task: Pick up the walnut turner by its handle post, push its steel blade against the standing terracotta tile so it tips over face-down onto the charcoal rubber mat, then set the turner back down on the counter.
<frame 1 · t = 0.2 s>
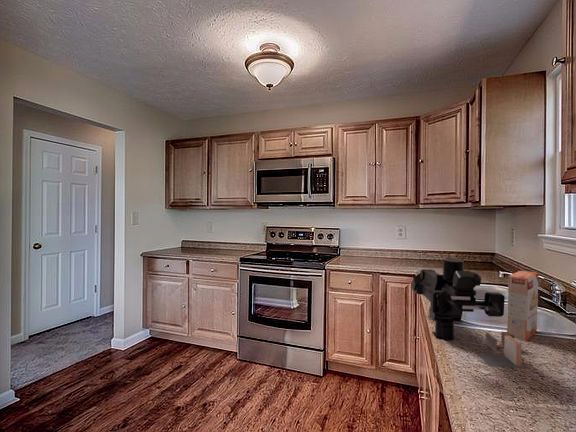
hand: (480, 313, 82), 16 cm above the worktop, tool horizontal, fingers open, 9 cm apart
walnut turner: (507, 349, 98), on the worktop
glazed tile: (512, 360, 90), point 1 cm above the worktop, touching slate mat
cracker box: (522, 335, 110), on the worktop
slate mat: (499, 362, 91), on the worktop
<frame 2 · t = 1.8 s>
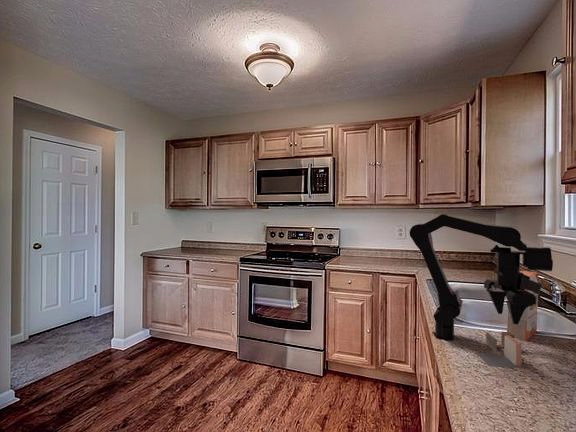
hand: (507, 318, 98), 9 cm above the worktop, tool pointing down, fingers open, 9 cm apart
nothing on the worktop moved.
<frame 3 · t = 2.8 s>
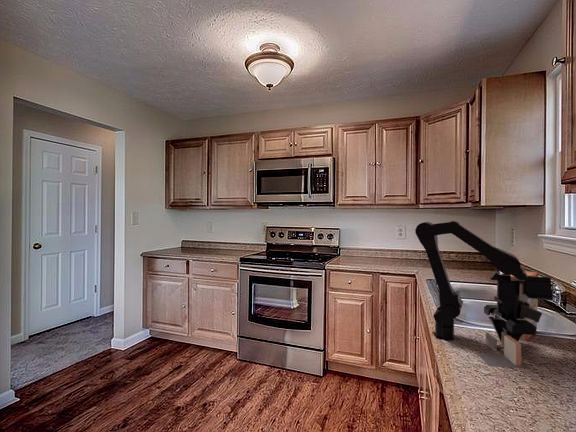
hand: (507, 346, 98), 1 cm above the worktop, tool pointing down, fingers open, 5 cm apart
nothing on the worktop moved.
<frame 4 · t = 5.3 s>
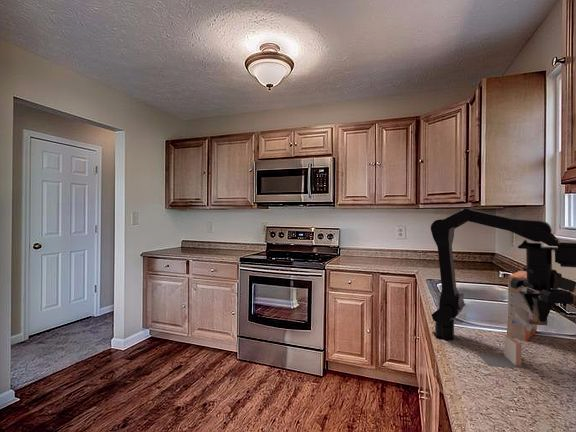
hand: (539, 320, 91), 12 cm above the worktop, tool pointing down, fingers closed on walnut turner, 2 cm apart
walnut turner: (539, 323, 91), point 11 cm above the worktop, touching gripper
everything else where it was.
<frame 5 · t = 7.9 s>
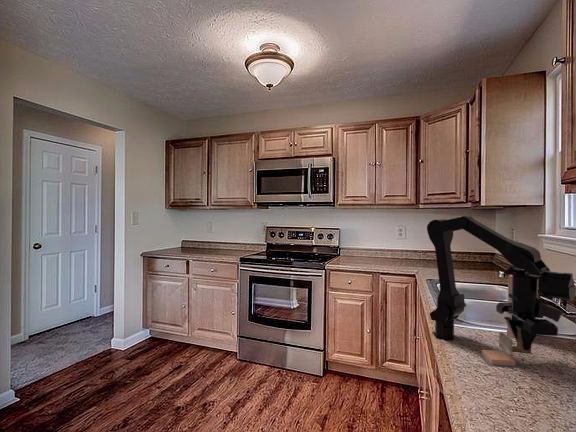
hand: (523, 347, 90), 4 cm above the worktop, tool pointing down, fingers closed on walnut turner, 2 cm apart
walnut turner: (523, 351, 90), point 3 cm above the worktop, touching gripper
glazed tile: (509, 357, 90), point 1 cm above the worktop, tilted 90°, touching slate mat
everything else where it was.
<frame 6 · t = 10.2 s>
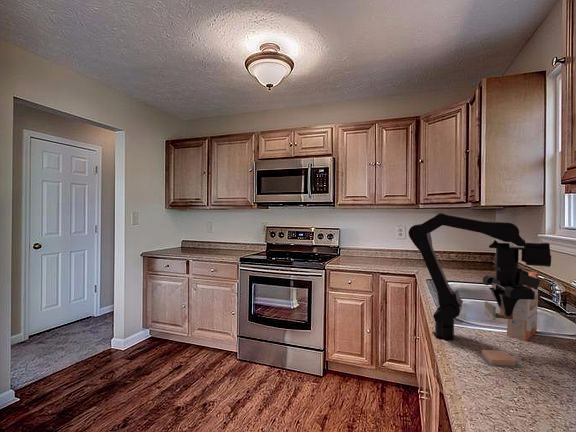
hand: (506, 314, 98), 11 cm above the worktop, tool pointing down, fingers closed on walnut turner, 2 cm apart
walnut turner: (506, 317, 98), point 10 cm above the worktop, touching gripper
everything else where it was.
when the fingers open (2 cm above the worktop, at t = 12.0 s): walnut turner drops 1 cm, on the worktop.
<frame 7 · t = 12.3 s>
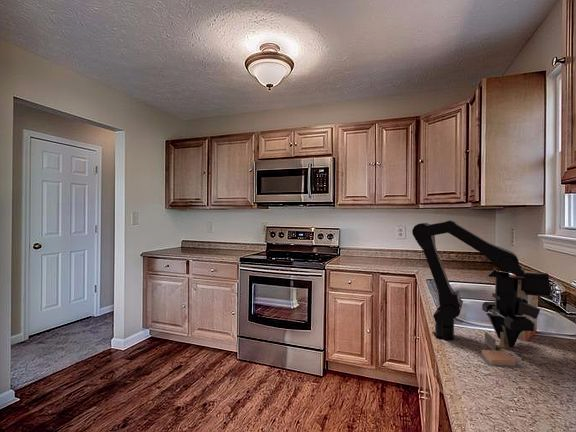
hand: (505, 342, 99), 2 cm above the worktop, tool pointing down, fingers open, 6 cm apart
walnut turner: (506, 349, 98), on the worktop
everything else where it was.
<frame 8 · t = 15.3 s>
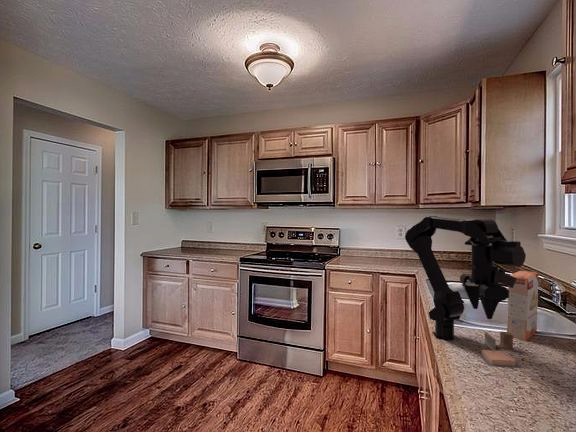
hand: (482, 313, 96), 12 cm above the worktop, tool pointing down, fingers open, 9 cm apart
nothing on the worktop moved.
at the end: glazed tile tilted 90°; glazed tile inside the target area on the slate mat (2.7 cm from its centre), point 1.4 cm above the slate mat's base; walnut turner inside the target area (0.7 cm from its centre), on the worktop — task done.
